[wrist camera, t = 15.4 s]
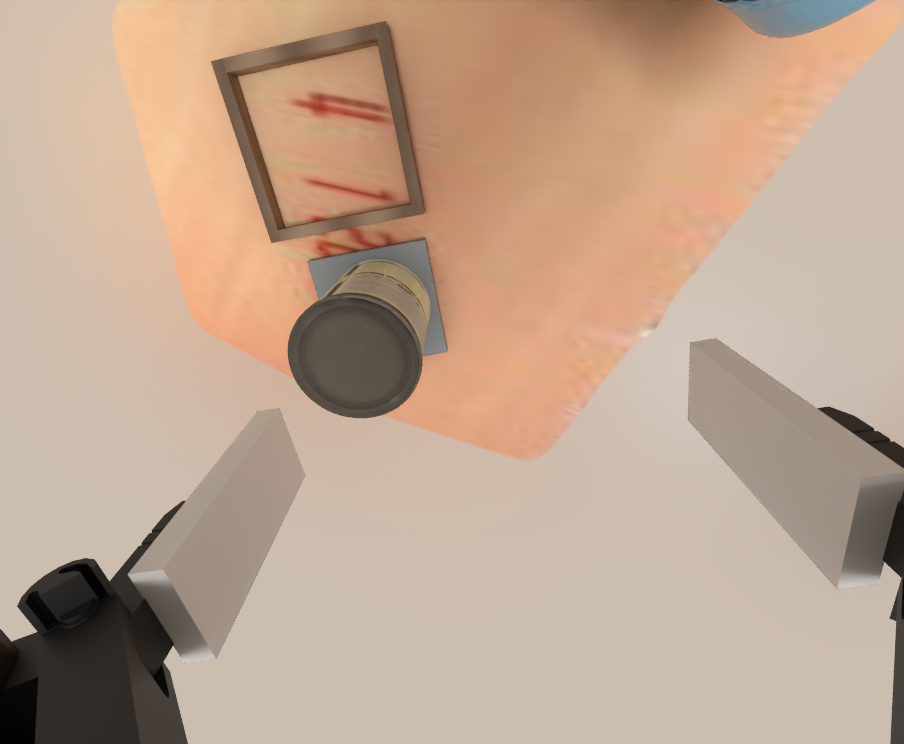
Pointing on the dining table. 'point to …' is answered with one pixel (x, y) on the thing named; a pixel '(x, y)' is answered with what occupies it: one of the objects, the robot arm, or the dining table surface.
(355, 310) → the coffee can
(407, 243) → the mat
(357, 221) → the square picture frame
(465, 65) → the dining table surface
